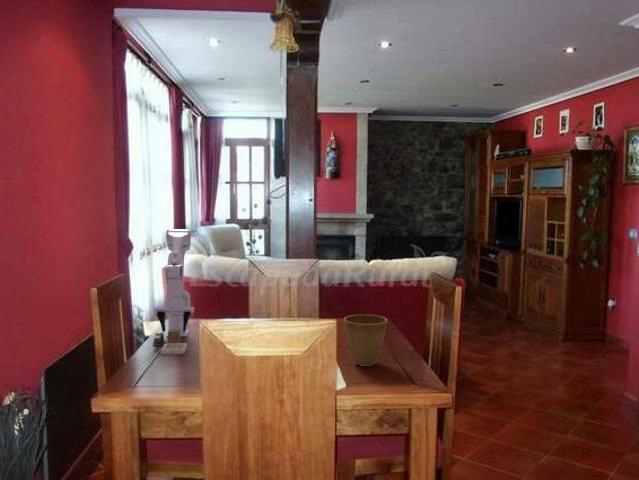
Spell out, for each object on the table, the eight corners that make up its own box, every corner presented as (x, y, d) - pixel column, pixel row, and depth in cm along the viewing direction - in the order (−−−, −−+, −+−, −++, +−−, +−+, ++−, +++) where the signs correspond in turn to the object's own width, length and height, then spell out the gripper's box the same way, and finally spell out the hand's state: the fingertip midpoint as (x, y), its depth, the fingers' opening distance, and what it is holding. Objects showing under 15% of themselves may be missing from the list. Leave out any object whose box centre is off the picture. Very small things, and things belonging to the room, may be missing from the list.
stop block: (169, 344, 203) (169, 329, 203) (180, 344, 204) (180, 329, 203) (167, 347, 199) (167, 331, 199) (178, 347, 200) (178, 331, 199)
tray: (164, 348, 197) (164, 343, 197) (186, 348, 198) (186, 343, 198) (161, 354, 189) (161, 349, 189) (183, 354, 190) (183, 349, 190)
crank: (156, 340, 204) (156, 331, 204) (164, 340, 204) (164, 331, 204) (151, 346, 195) (151, 337, 195) (160, 346, 195) (160, 337, 195)
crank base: (154, 342, 206) (154, 332, 205) (180, 341, 207) (180, 331, 207) (151, 346, 200) (151, 336, 199) (178, 346, 201) (178, 335, 201)
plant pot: (349, 355, 193) (350, 312, 192) (389, 360, 188) (391, 316, 187) (337, 367, 179) (338, 321, 178) (380, 372, 174) (381, 325, 173)
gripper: (152, 297, 195) (152, 333, 196) (192, 297, 197) (192, 333, 198) (156, 294, 202) (156, 329, 203) (194, 294, 204) (194, 329, 205)
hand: (174, 331), depth 201 cm, fingers open, 7 cm apart
